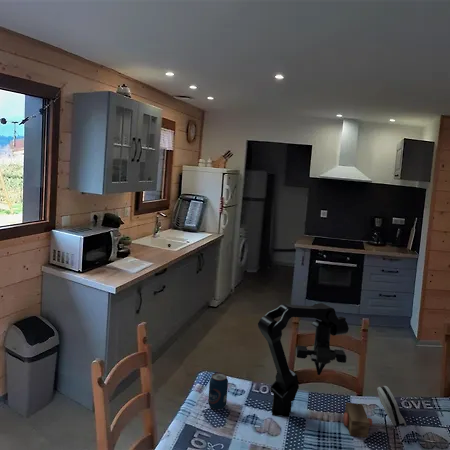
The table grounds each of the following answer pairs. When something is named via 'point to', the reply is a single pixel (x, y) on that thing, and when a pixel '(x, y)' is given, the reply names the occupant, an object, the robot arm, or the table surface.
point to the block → (357, 420)
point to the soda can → (218, 391)
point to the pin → (346, 420)
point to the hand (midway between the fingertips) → (318, 374)
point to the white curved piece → (390, 405)
